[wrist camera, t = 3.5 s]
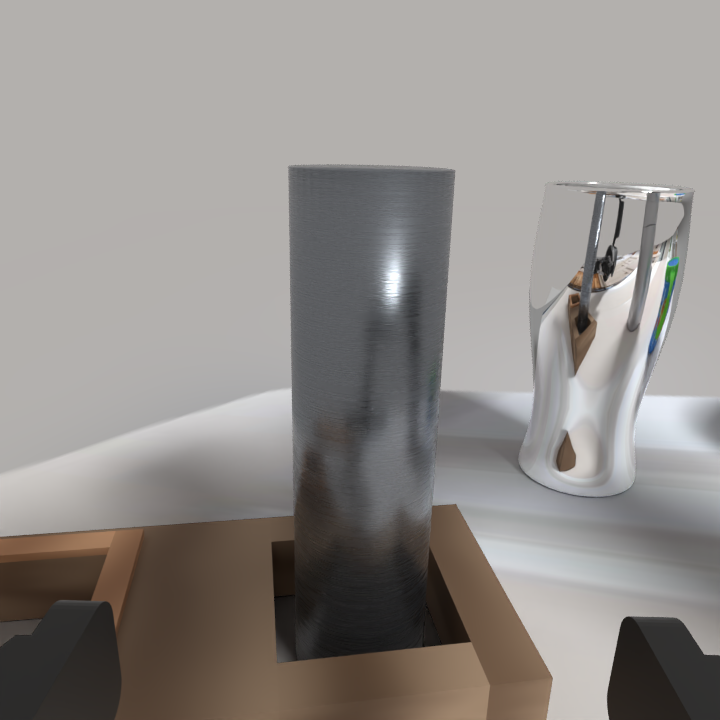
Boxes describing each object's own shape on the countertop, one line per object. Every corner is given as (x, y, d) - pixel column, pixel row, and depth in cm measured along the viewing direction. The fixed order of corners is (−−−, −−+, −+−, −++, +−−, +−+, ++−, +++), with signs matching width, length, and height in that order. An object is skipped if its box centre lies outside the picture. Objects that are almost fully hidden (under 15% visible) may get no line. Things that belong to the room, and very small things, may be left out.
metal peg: (405, 597, 24) (430, 165, 19) (437, 689, 20) (478, 173, 15) (292, 607, 24) (284, 164, 18) (300, 706, 19) (293, 170, 14)
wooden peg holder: (451, 554, 27) (456, 498, 26) (542, 743, 18) (553, 669, 17) (-87, 600, 23) (-104, 537, 23) (-276, 856, 15) (-315, 772, 14)
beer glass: (660, 466, 35) (717, 187, 30) (616, 519, 30) (675, 193, 25) (542, 429, 39) (575, 179, 34) (486, 470, 34) (515, 183, 29)
